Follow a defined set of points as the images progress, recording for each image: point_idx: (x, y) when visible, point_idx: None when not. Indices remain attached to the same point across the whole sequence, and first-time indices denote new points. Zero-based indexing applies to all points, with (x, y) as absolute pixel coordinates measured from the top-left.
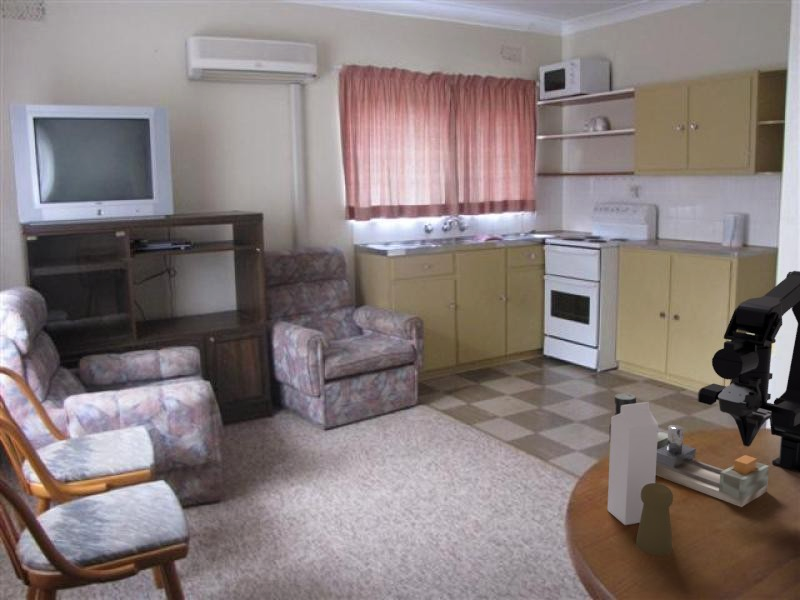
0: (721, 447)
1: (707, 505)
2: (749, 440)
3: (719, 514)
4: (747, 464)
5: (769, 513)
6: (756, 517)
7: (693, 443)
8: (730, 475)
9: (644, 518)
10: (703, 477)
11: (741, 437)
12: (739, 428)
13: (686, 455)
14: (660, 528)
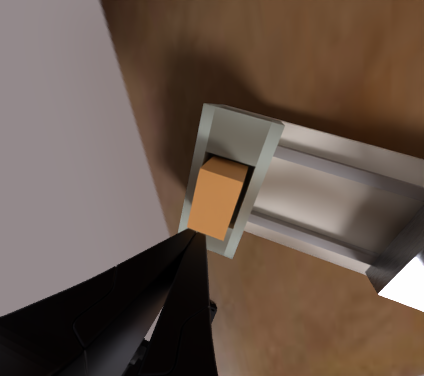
0: (303, 344)
1: (300, 56)
2: (164, 241)
3: (262, 17)
4: (199, 173)
5: (171, 110)
6: (185, 69)
7: (359, 353)
8: (248, 116)
9: None
10: (332, 165)
11: (204, 259)
12: (200, 312)
13: (407, 252)
14: None
